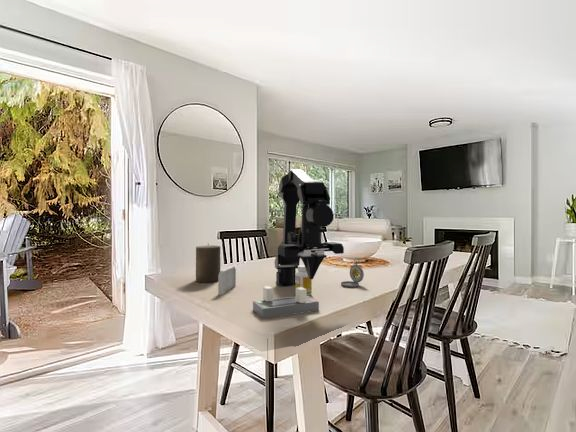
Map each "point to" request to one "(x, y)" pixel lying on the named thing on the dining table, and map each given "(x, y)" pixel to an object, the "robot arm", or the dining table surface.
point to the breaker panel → (284, 306)
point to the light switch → (226, 280)
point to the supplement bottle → (303, 279)
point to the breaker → (268, 293)
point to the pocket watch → (354, 271)
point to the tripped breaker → (301, 294)
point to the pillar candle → (207, 263)
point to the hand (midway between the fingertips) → (311, 279)
